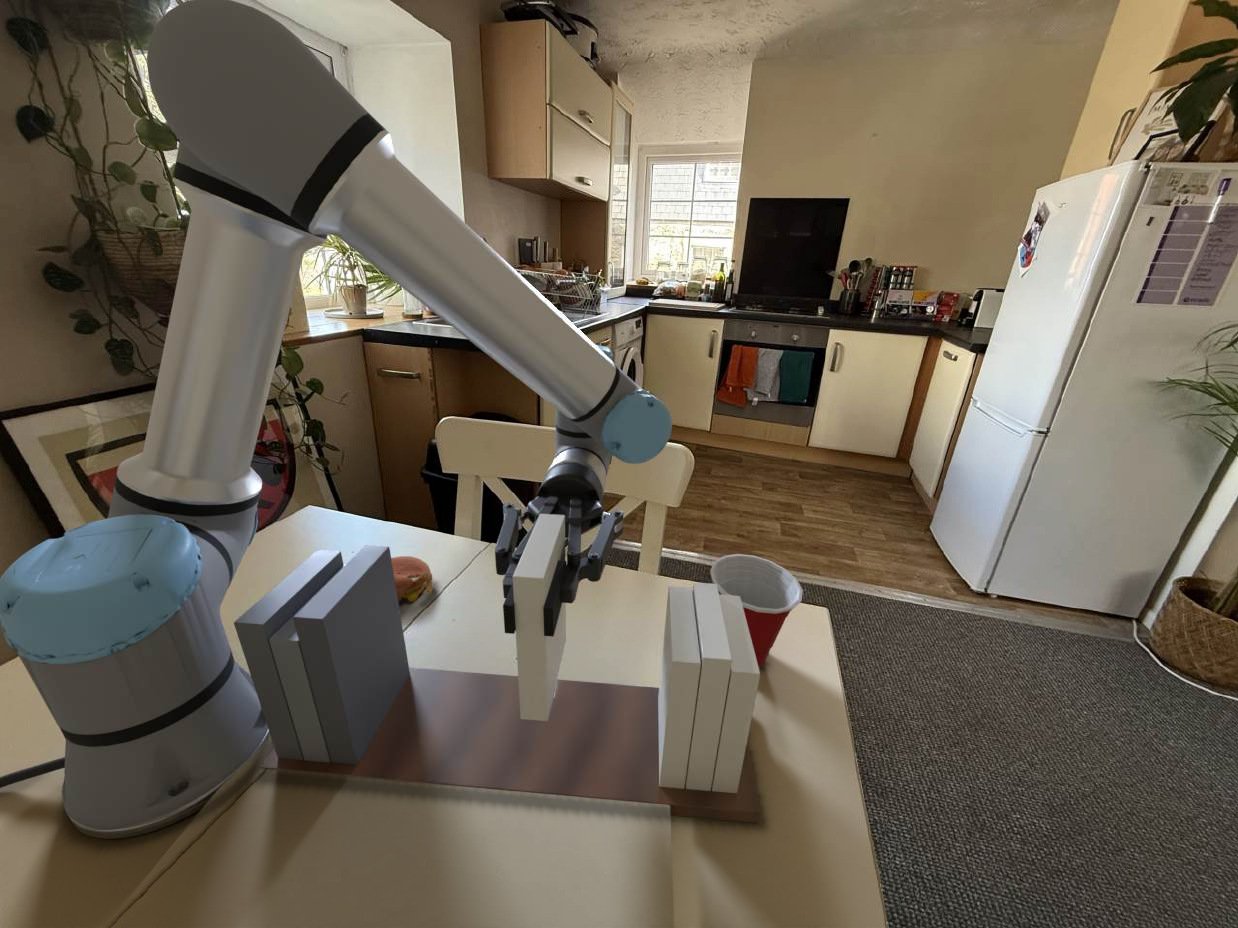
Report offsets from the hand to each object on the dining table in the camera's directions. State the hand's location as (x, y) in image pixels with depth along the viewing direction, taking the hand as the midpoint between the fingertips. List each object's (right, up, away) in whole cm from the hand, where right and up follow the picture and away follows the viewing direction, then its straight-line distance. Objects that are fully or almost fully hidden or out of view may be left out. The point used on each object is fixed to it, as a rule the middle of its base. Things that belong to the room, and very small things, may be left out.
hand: (528, 620), depth 38 cm
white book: (0, -8, +9) cm, 12 cm away
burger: (-25, -7, +33) cm, 42 cm away
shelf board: (-3, -16, +13) cm, 21 cm away
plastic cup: (+23, -12, +25) cm, 36 cm away
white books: (+15, -16, +11) cm, 24 cm away
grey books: (-21, -14, +13) cm, 28 cm away
